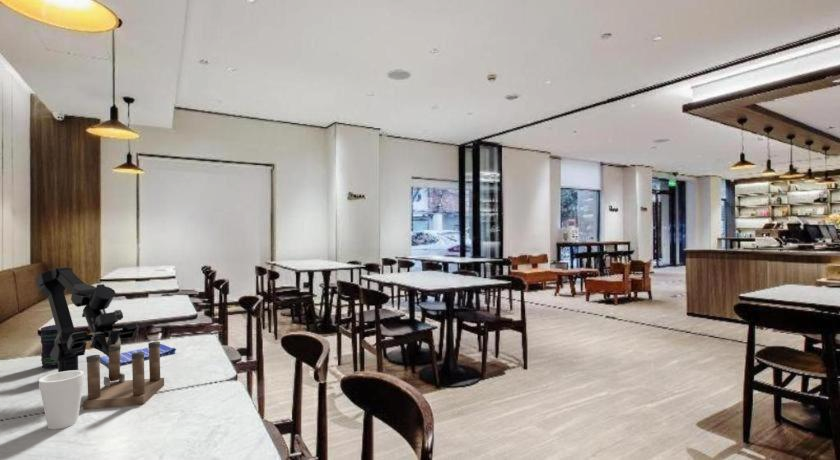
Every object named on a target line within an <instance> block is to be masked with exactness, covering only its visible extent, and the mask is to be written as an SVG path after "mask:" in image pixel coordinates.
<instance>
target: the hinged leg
mask: <svg viewBox="0 0 840 460" xmlns="http://www.w3.org/2000/svg"><path fill="white" fill-rule="evenodd" d="M121 349H122V347H121V344H117V343H116V344H115V345H110V346H109V348H108V350H109V366H108V378H110V382H113V381H119V379H120V373H121V366H120V353H121Z"/></svg>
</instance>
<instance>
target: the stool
mask: <svg viewBox="0 0 840 460" xmlns="http://www.w3.org/2000/svg"><path fill="white" fill-rule="evenodd" d="M160 344H161V342H160V341H152V342H149V343H148V344H147V345H148V346H147V347H149V360H148V361H149V363H148V364H149V365H148V366H149V367H148V368H149V370H148V371H149V378H145V361H144V352H136V353H133V354H132V363H131V367H132V369H131V370H132V371H131V372H132V379H128V380H126V379H125V378H126V377H125V373H122V372H120V379H119V380H117V381H110V378H109V376H103V385H104V386H103V387H101V366H100V365H101V362H100V357H101V355H100V354H93V355H88V356H86V374H87V397H86V398H85V399H84V400H83V401H82V409H83V410H93V409H96V410H97V409H105V408H117V407H127V406H128V407H129V406H140V405H141V406H142V405H145V404H146V403H147V402H148V401H149V400H150V399H151V398H153V396H155V394H156V393H157V392H159V391H160V390H161V389H162V388H163V387H164V386H165V377H161V359H160V358H161V357H160Z"/></svg>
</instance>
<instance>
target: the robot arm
mask: <svg viewBox="0 0 840 460" xmlns="http://www.w3.org/2000/svg"><path fill="white" fill-rule="evenodd" d="M35 285H36V286H37V288H38V290H39V292H40V293H41V294H43V295H44V296H45V297H46V298H47V299H48V303H49V307H50V310H51V314H52V318H53V321H54V325H56V329H57V332H58V335H57V337H56V339H55V341H54V344H55V346H54V348H53V349H52V351H51V353H50V357H51V360H54V361H58V368H57V373H58V372H63V371H72V370H79V371H81V370H80V369H79V357H80V356H85V355H86V354H85V353H86V348H87V343H88V342H90V346H89V348H91V349H93V348H94V349H95V350H97V351H99V352H101V353H103V354H104V355H105V356H108V357H109V350H108V348H109V346H110V345H115V344H117V342H118V341H119V339H120V340H127V339H133V338H134V337H135V335H136V333H137V331H138V329H139V326H138V324H137V323H136V322H134V321H133V322H129V323H123V324H122V325H121V327H120V328H116V323H117V322H118V321H121V320H123V319H124V315H123V314H124V313H123V312H122V310H121V309H116V310H114V311H113V312H106V310H107V309H109V307H110V305H111V303H112V301H113V300H114V298H115V297H116V291H115V289H113V288H112V287H109V286H105V284H104V283H102V284H97V285H96V286H94V285H92V284H87V283H85V282H84V281H83V280H82V279H81V278H79V276H78V275H77V274H75V273H74V272H73V269H72V268H71V267H69V266H64V267H55V268H52V269H50V270H48V271H45V272H40V273H39V275H37V276H36V277H35ZM65 290H67V292H69V293H70V294H71V298H70V301H71V303H72V304H74V306H75V307H77V308H81V307H84V308H83V309H82V314H81V317H82V318H85V320H86V322H87V330H88V331H90V333H91V334H88V333H87V331H85V330H84V331H83V330H81V329H76V328H75V325H74V323H73V319H72V315H71V312H70V309H69V305H68V301H67V298H66V295H65ZM115 328H116V329H115Z"/></svg>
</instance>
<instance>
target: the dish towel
mask: <svg viewBox="0 0 840 460" xmlns="http://www.w3.org/2000/svg"><path fill="white" fill-rule="evenodd" d="M176 350H177V349H176V348H175V347H170V346H168V345H166V344H162V343H160V358H162V357H167V356H172V355H175V354H176ZM136 352H144V362H145V361H149V347H148V346H147V347H144V348H140V349H139V348H138V349H133V350H129V351H126V352H120V367H122V366H126V365H130V364H131V365H132V354H133V353H136ZM100 363H102V364H103V365H105V366H106V367H109V357H108V356H107V355H104V356H100Z"/></svg>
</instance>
